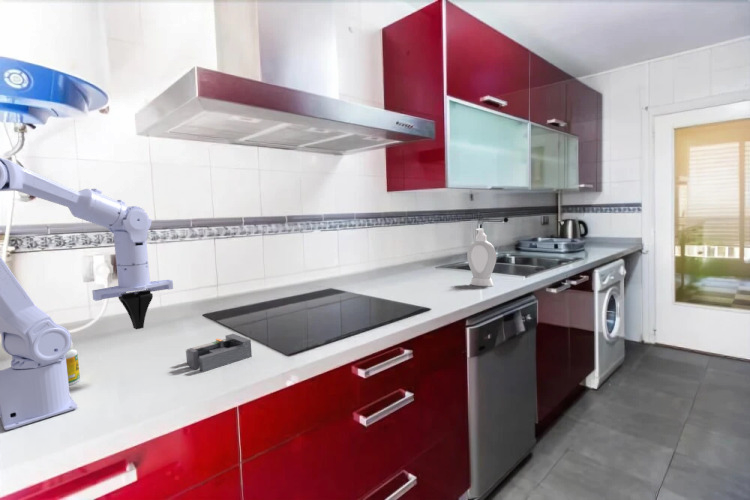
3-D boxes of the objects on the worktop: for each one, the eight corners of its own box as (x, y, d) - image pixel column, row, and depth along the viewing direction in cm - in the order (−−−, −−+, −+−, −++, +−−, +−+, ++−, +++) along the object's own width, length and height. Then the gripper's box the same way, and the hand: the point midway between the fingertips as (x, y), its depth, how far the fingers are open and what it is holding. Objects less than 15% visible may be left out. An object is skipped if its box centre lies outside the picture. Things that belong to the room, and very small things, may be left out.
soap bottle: (462, 285, 171) (461, 228, 169) (469, 283, 177) (469, 228, 175) (492, 288, 163) (491, 228, 161) (498, 285, 169) (498, 227, 167)
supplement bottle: (49, 384, 81) (44, 344, 81) (77, 376, 85) (73, 338, 84) (53, 390, 78) (49, 348, 77) (82, 382, 82) (78, 342, 81)
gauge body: (202, 372, 85) (201, 353, 84) (186, 363, 90) (185, 346, 90) (251, 356, 93) (250, 339, 93) (234, 349, 99) (233, 333, 98)
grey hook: (195, 370, 86) (194, 352, 85) (183, 363, 90) (182, 346, 90) (232, 358, 92) (231, 342, 91) (220, 353, 96) (218, 337, 96)
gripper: (96, 270, 75) (103, 340, 77) (176, 261, 86) (181, 323, 87) (87, 267, 80) (94, 333, 81) (164, 259, 91) (169, 318, 92)
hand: (138, 327), depth 85 cm, fingers closed
